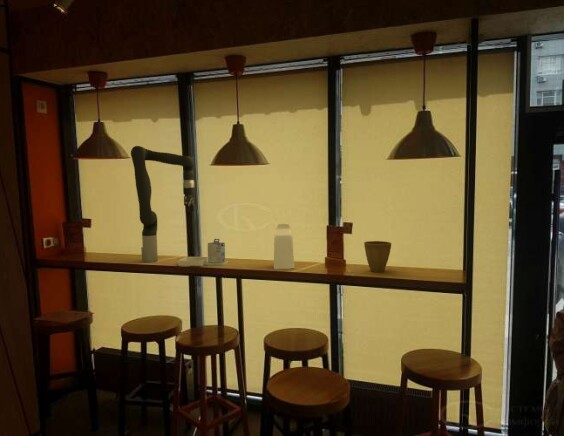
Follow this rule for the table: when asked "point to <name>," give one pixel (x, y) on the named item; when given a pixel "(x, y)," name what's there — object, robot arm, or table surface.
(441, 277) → the table surface
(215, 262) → the tile
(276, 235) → the milk
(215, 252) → the ink cartridge box
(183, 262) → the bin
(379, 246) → the plant pot
